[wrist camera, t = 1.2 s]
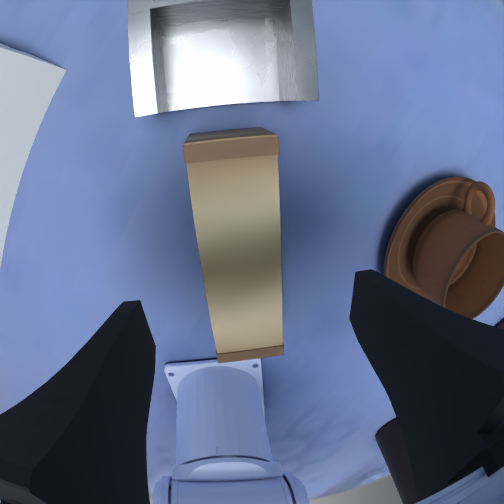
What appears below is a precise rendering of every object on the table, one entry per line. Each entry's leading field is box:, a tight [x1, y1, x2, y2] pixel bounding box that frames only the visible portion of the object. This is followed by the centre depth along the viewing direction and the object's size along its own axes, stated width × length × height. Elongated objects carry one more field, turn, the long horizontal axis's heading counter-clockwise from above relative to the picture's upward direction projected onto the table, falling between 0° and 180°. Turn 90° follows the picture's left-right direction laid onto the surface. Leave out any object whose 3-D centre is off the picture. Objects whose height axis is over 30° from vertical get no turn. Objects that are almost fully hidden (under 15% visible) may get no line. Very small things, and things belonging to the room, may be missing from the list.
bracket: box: [127, 0, 319, 117], centre depth 11 cm, size 7×8×7 cm
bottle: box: [376, 418, 419, 504], centre depth 27 cm, size 7×7×20 cm
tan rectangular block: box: [183, 127, 284, 363], centre depth 18 cm, size 13×4×5 cm, turn 4°
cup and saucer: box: [384, 177, 504, 319], centre depth 20 cm, size 12×12×6 cm
